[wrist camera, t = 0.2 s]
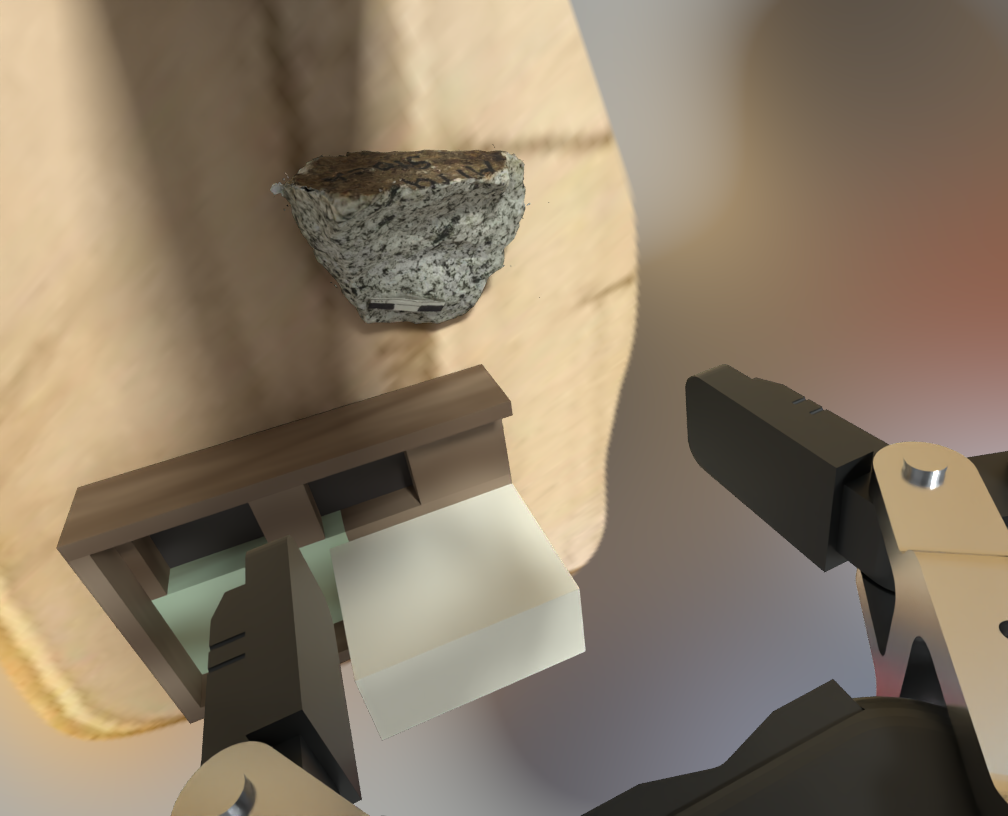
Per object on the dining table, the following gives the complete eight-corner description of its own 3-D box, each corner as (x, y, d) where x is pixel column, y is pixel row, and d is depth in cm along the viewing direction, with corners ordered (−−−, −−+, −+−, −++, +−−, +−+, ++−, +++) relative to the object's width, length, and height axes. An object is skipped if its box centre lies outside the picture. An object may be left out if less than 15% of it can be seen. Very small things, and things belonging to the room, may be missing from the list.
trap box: (77, 487, 27) (56, 547, 24) (481, 364, 31) (510, 400, 28) (194, 658, 34) (190, 723, 30) (512, 537, 38) (538, 583, 35)
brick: (329, 548, 31) (354, 681, 24) (512, 483, 33) (579, 588, 27) (353, 606, 33) (382, 740, 27) (521, 541, 36) (585, 651, 29)
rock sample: (341, 416, 26) (410, 314, 18) (242, 267, 26) (271, 110, 19) (511, 327, 31) (613, 224, 24) (428, 207, 32) (504, 71, 25)
